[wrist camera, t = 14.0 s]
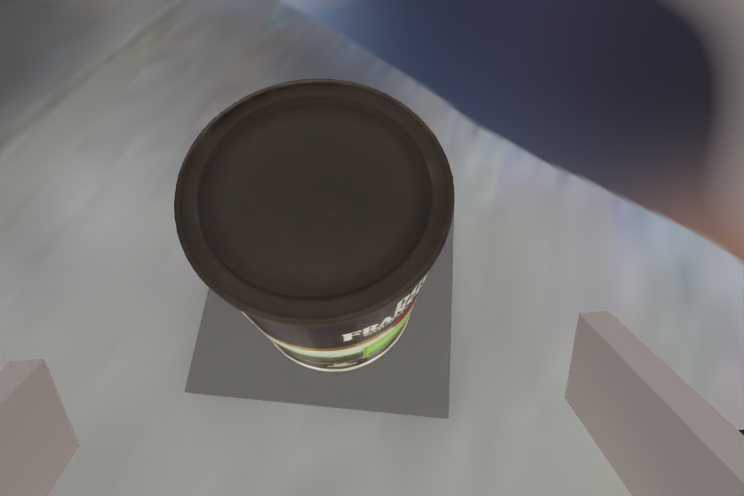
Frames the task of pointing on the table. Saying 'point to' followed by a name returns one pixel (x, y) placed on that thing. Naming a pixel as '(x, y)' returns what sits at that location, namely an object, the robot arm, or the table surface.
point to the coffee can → (317, 216)
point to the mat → (334, 389)
